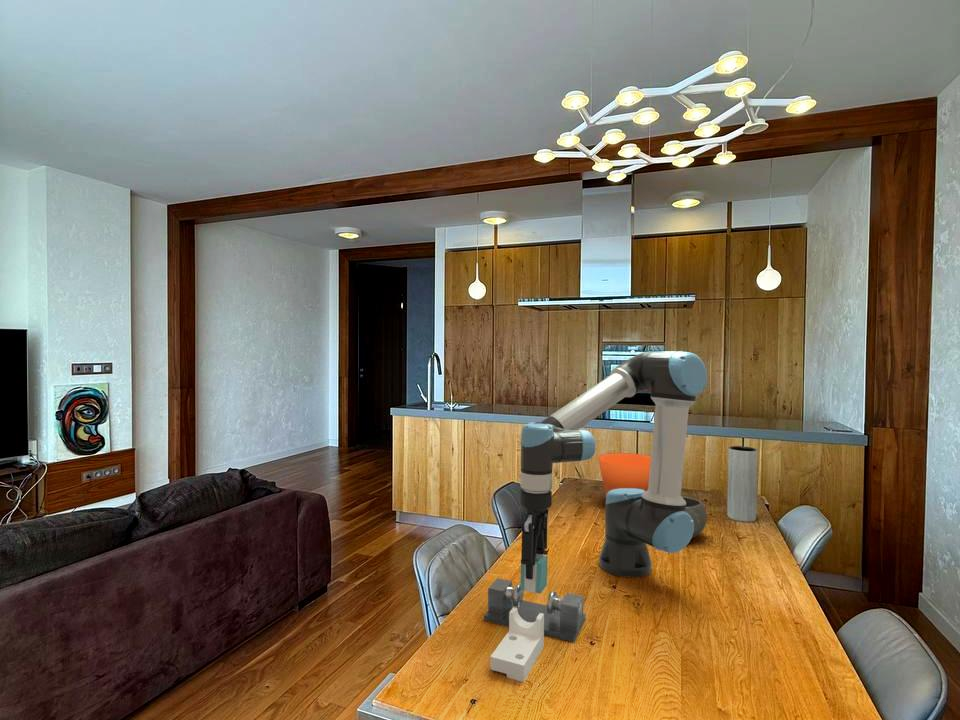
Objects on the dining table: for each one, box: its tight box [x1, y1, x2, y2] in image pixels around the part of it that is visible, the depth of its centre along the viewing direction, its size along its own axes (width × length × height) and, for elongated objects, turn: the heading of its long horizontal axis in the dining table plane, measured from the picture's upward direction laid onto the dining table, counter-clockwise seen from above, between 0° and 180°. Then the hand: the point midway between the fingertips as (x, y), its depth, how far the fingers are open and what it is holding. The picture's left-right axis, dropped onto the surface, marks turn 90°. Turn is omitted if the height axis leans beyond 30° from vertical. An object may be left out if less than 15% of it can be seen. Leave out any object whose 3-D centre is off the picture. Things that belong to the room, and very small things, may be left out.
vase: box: [726, 445, 758, 523], centre depth 198 cm, size 10×10×27 cm
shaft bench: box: [483, 577, 587, 643], centre depth 123 cm, size 22×11×8 cm, turn 66°
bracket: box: [489, 607, 545, 683], centre depth 107 cm, size 13×7×8 cm, turn 156°
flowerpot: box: [597, 452, 651, 496], centre depth 212 cm, size 25×25×20 cm
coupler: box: [519, 554, 548, 595], centre depth 123 cm, size 5×5×8 cm
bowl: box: [681, 495, 708, 538], centre depth 179 cm, size 18×18×13 cm
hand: (534, 585), depth 123 cm, fingers closed on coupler, 5 cm apart
